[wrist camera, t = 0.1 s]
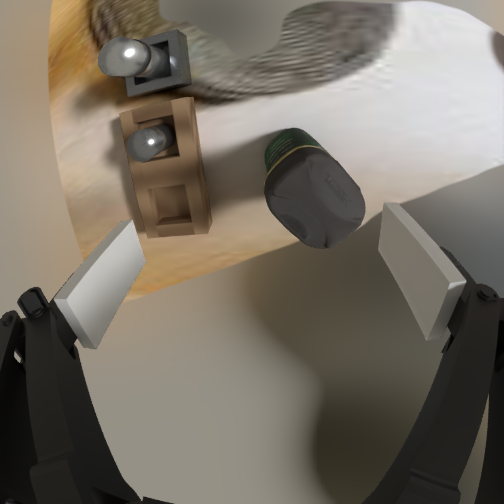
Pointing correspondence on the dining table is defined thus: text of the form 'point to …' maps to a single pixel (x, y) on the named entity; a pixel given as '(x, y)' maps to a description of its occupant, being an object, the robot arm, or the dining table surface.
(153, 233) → the rack
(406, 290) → the robot arm
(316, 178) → the coffee jar
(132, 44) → the grey metal cylinder
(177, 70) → the socket block
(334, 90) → the dining table surface
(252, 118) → the dining table surface
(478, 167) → the dining table surface
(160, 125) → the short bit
